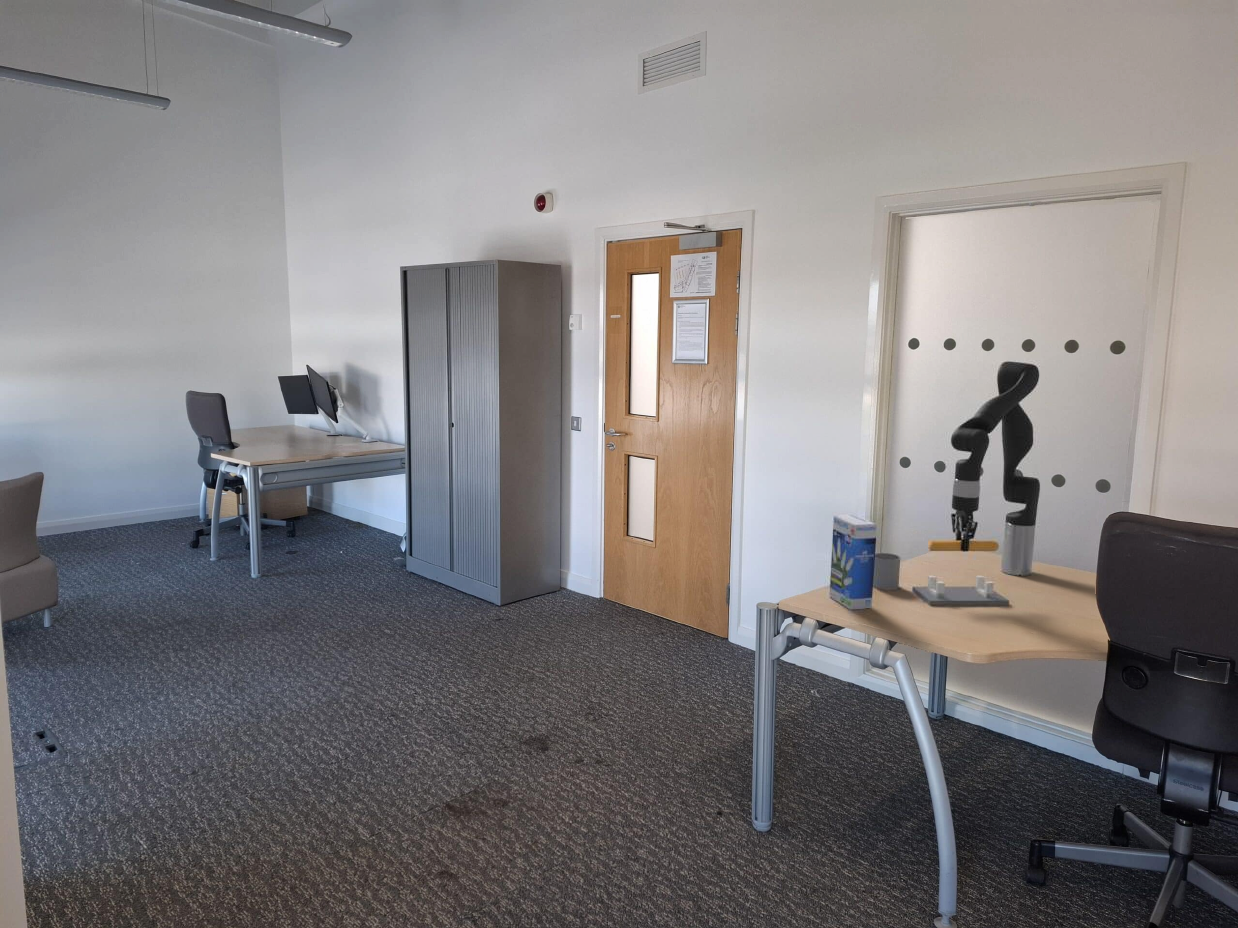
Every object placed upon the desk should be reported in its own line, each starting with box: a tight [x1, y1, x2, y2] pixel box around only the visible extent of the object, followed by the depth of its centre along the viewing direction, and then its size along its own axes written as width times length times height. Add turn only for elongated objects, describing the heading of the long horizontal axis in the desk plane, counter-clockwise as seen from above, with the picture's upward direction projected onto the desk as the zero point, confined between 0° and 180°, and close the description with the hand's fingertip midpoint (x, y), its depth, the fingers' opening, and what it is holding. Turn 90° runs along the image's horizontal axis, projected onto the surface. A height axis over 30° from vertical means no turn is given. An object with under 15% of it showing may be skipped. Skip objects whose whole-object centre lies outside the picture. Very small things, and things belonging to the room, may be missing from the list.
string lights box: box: [829, 514, 878, 611], centre depth 249 cm, size 13×8×26 cm, turn 14°
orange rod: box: [928, 540, 1000, 552], centre depth 254 cm, size 21×3×3 cm, turn 91°
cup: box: [873, 552, 901, 592], centre depth 267 cm, size 8×8×10 cm
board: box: [911, 575, 1010, 607], centre depth 256 cm, size 14×24×6 cm, turn 92°
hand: (961, 549), depth 254 cm, fingers closed on orange rod, 3 cm apart
